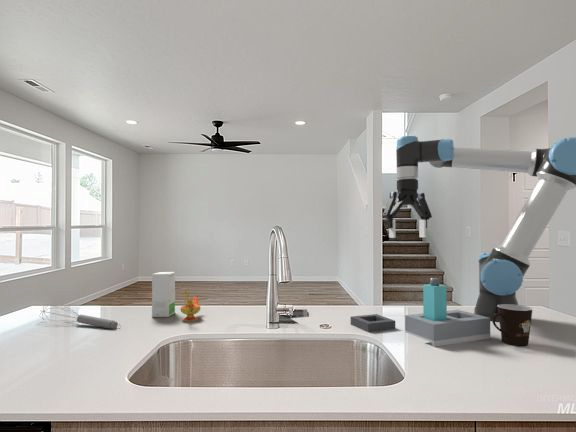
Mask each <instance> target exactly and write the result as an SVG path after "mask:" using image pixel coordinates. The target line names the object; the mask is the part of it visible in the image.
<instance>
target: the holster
mask: <svg viewBox="0 0 576 432" xmlns="http://www.w3.org/2000/svg"><path fill="white" fill-rule="evenodd" d="M350 325H351V326H352V327H353V326H354V327H355V328H358V329H360V330H362V331H364V332H366V333H372V332H373V333H374V332H375V333H376V332H381V331H390V330H391V331H392V330H396V320H394V319H391V318H389V317H386V316H383V315H380V314H378V313H374V314H365V315H364V314H362V315H354V316H350Z"/></svg>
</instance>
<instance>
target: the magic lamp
mask: <svg viewBox="0 0 576 432" xmlns="http://www.w3.org/2000/svg"><path fill="white" fill-rule="evenodd" d="M183 293H184V295H185V298H184V305H183V306H180V312H181V313H182V314H184V315H185V316H186V317H185V318H182V321H185V322H192V321H193V322H194V321H197V320H199V318H198V317H196V316H195V315H196V314H198V313H199V312H200V310H201V305H199V304H200V303H199V301H200V295H199V294H196V295H194V297H193V298H192V299H191V298H189V297H190V294H189V291H188V290H185V291H184V292H183Z"/></svg>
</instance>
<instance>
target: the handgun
mask: <svg viewBox="0 0 576 432" xmlns="http://www.w3.org/2000/svg"><path fill="white" fill-rule="evenodd" d="M293 309H294V311H293V316H292V317H290V316H289V315H288V314H287V315H279V322H280V323H279V324H298V322H297V321H296V320H294V319H297V318H308V309H306V308H304V309H303V308H302V309H300V308H293Z"/></svg>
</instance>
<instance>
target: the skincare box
mask: <svg viewBox="0 0 576 432" xmlns="http://www.w3.org/2000/svg"><path fill="white" fill-rule="evenodd" d="M175 282H176V272H175V271H162V272H161V271H159V272H155V273H151V318H169V317H171V316H172V315H174V314H175V313H176V283H175Z"/></svg>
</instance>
